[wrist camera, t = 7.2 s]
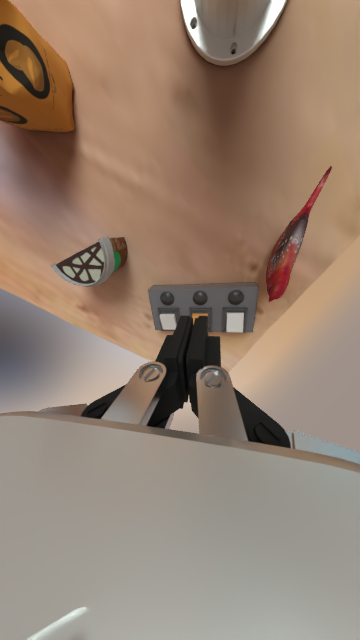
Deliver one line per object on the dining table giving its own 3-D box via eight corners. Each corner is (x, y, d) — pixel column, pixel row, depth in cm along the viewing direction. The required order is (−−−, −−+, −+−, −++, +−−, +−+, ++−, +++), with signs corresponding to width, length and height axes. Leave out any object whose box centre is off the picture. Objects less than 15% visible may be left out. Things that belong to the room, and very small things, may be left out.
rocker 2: (226, 312, 35) (227, 313, 35) (243, 312, 35) (243, 313, 34) (226, 330, 36) (226, 332, 35) (242, 331, 36) (242, 332, 35)
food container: (100, 282, 41) (70, 297, 33) (85, 256, 39) (48, 266, 30) (143, 263, 37) (121, 276, 29) (129, 234, 35) (101, 237, 26)
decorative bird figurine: (251, 285, 35) (263, 305, 27) (298, 175, 26) (339, 151, 17) (265, 288, 35) (281, 310, 26) (318, 178, 26) (368, 157, 17)
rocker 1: (160, 313, 37) (159, 316, 37) (174, 314, 37) (173, 316, 36) (164, 326, 40) (163, 329, 39) (177, 326, 39) (176, 329, 39)
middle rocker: (192, 313, 36) (192, 316, 35) (207, 313, 35) (207, 316, 35) (193, 327, 38) (193, 330, 38) (208, 328, 38) (208, 330, 37)
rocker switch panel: (152, 285, 39) (147, 290, 36) (255, 282, 35) (259, 287, 32) (159, 323, 44) (154, 331, 41) (250, 324, 39) (253, 333, 36)
